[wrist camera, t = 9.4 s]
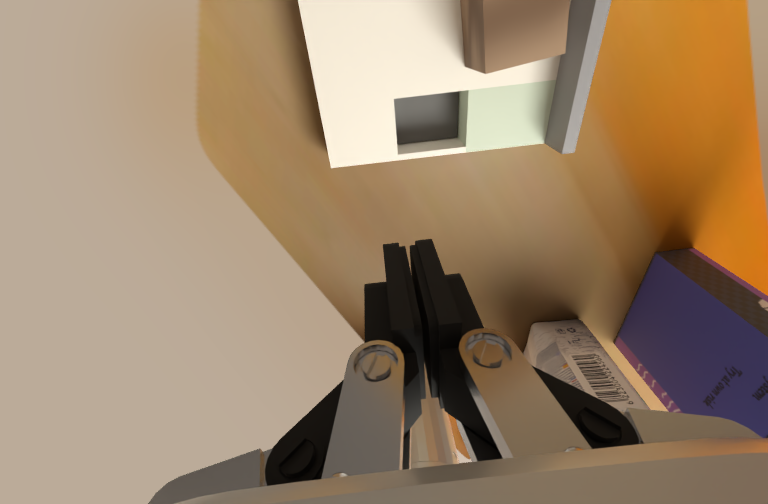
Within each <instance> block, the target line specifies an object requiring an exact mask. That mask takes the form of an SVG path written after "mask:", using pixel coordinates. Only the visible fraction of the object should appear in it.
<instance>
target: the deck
mask: <svg viewBox="0 0 768 504" xmlns="http://www.w3.org/2000/svg"><path fill="white" fill-rule="evenodd" d="M298 4H299V9H300V14H301V19H302V24H303V29H304V34H305V39H306V44H307V49H308V54H309V59H310V64H311V69H312V74H313V79H314V84H315V89H316V94H317V99H318V104H319V109H320V115H321V120H322V125H323V130H324V135H325V140H326V145H327V150H328V155H329V160H330V165H331V168H336V167H345V166H353V165H362V164H370V163H379V162H387V161H396V160H405V159H413V158H422V157H430V156H439V155H448V154H456V153H465V152H473V151H482V150H491V149H499V148H508V147H516V146H525V145H533V144H542V143H545V144H547V145H548V146H550V147H551V148H553V149H555V150H556V151H558V152H560V153H561V154H566V153H574V152H575V148H576V143H577V139H578V135H579V131H580V127H581V123H582V119H583V115H584V111H585V107H586V102H587V98H588V94H589V90H590V86H591V82H592V78H593V74H594V70H595V65H596V61H597V57H598V53H599V49H600V45H601V41H602V37H603V33H604V29H605V24H606V20H607V16H608V12H609V8H610V4H611V0H570V5H569V16H568V28H567V40H566V51H565V54H561V55H558V56H554V57H550V58H546V59H542V60H538V61H534V62H531V63H527V64H523V65H519V66H515V67H511V68H507V69H503V70H500V71H496V72H492V73H488V74H484V73H481V72H478V71H475V70H473V69H470V68H467V67H465V63H464V49H463V34H462V20H461V5H460V0H298ZM458 97H459V105H458ZM457 128H458V135H457ZM455 137H456V138H455ZM447 138H448V139H447ZM438 139H439V140H438ZM429 140H430V141H429ZM421 141H422V142H421ZM412 142H413V143H412ZM404 143H405V144H404Z"/></svg>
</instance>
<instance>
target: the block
mask: <svg viewBox="0 0 768 504" xmlns="http://www.w3.org/2000/svg"><path fill="white" fill-rule="evenodd" d="M460 5H461V20H462V34H463V49H464V63H465V67H467V68H470V69H473V70H475V71H478V72H481V73H484V74H488V73H492V72H496V71H500V70H503V69H507V68H511V67H515V66H519V65H523V64H527V63H531V62H534V61H538V60H542V59H546V58H550V57H554V56H558V55H561V54H565V51H566V40H567V28H568V16H569V5H570V0H460Z"/></svg>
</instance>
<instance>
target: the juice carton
mask: <svg viewBox="0 0 768 504" xmlns="http://www.w3.org/2000/svg"><path fill="white" fill-rule="evenodd" d="M523 355H524V356H525V358H526V359H527V360H528V362H529V363H530V364H531V365H532V366H534V367H536V368H538V369H540V370H542V371H544V372H546V373H548V374H550V375H552V376H554V377H556V378H558V379H560V380H562V381H564V382H566V383H568V384H570V385H572V386H574V387H576V388H578V389H580V390H582V391H584V392H586V393H588V394H590V395H592V396H594V397H596V398H598V399H600V400H602V401H604V402H606V403H608V404H609V405H611V406H613V407H614V408H616V409H617V410H619V411H623V412H625V411H626V409H627V408H637V409H646V410H650V408H649V407H648V406H647V405H646V403H645V402H644V401H643V399H642V398H641V397H640V395H639V394H638V393H637V391H636V390H635V389H634V388H633V386H632V385H631V384H630V382H629V381H628V380H627V378H626V377H625V376H624V374H623V373H622V372H621V371H620V369H619V368H618V367H617V365H616V364H615V363H614V361H613V360H612V359H611V357H610V356H609V355H608V354H607V352H606V351H605V350H604V348H603V347H602V346H601V344H600V343H599V342H598V341H597V339H596V338H595V337H594V335H593V334H592V333H591V332H590V330H589V329H588V328H587V326H586V325H585V324H584V323H583V322H582V321H581V320H579V319H572V320H563V321H552V322H538V323H534V324H532V326H531V329H530V333H529V337H528V342H527V345H526V348H525V350H524V353H523Z"/></svg>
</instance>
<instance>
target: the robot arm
mask: <svg viewBox="0 0 768 504" xmlns="http://www.w3.org/2000/svg"><path fill="white" fill-rule="evenodd" d="M383 251H384V261H385V271H386V281H387V282H380V283H371V284H365V287H364V294H365V343H364V344H362V345H360V346H359V347H358V348H356V349H355V350H354V351H353V353H352V354H351V355H350V358H349V360H348V364H347V368H346V372H345V377H344V380H343V381H342V382H341V383H340V384H339V385H337V386H336V387H335V388H334V389H333V390H332V391H331V392H330V393H329V394H328V395H327V396H326V397H325V398H324V399H323V400H322V401H321V402H319V403H318V404H317V405H316V406H315V407H314V408H313V409H312V410H311V411H310V412H309V413H308V414H307V415H306V416H304V417H303V418H302V419H301V420H300V421H299V422H298V423H297V424H296V425H295V426H294V427H293V428H292V429H291V430H289V431H288V432H287V433H286V434H285V435H284V436H283V437H282V438H281V439H280V440H279V441H278V443H277V444H276V445H275V446H274V447H273V448H272V449H270V450H267V451H264V452H262V450H261V449H257V450H254V451H251V452H248V453H246V454H243V455H240V456H237V457H235V458H232V459H229V460H226V461H223V462H220V463H217V464H214V465H212V466H209V467H206V468H203V469H200V470H197V471H194V472H191V473H189V474H186V475H183V476H180V477H178V478H176V479H174V480H172V481H170V482H168V483H167V484H166V485H165V486H163V487H162V488H161V489H160V490H159V491H158V492H157V493H156V494H155V495H154V497H153V498H152V499H151V501H150V502H149V503H148V504H768V438H762V437H761V436H759V435H758V434H756V433H755V432H753V431H752V430H751V429H749V428H748V427H745V426H743V425H741V424H739V423H737V422H735V421H733V420H729V419H724V418H720V417H713V416H704V415H694V414H685V413H675V412H666V411H656V410H646V409H637V408H627V409H626V411H625V412H623V411H619V410H617V409H616V408H614V407H613V406H611V405H609V404H608V403H606V402H604V401H602V400H600V399H598V398H596V397H594V396H592V395H590V394H588V393H586V392H584V391H582V390H580V389H578V388H576V387H574V386H572V385H570V384H568V383H566V382H564V381H562V380H560V379H558V378H556V377H554V376H552V375H550V374H548V373H546V372H544V371H542V370H540V369H538V368H536V367H534V366H532V365H531V364H530V363H529V362H528V360H527V359H526V358H525V356H524V355H523V353H522V352H521V351H520V349H519V348H518V347H517V345H516V344H515V343H514V342H513V341H512V339H511V338H510V337H508V336H507V335H505V334H503V333H502V332H499V331H496V330H494V329H487V328H484V327H483V325H482V322H481V320H480V318H479V315H478V313H477V311H476V309H475V306H474V304H473V302H472V299H471V297H470V295H469V292H468V290H467V288H466V286H465V283H464V281H463V279H462V277H461V275H460V274H459V273H458V274H449V275H445V274H444V271H443V269H442V266H441V263H440V261H439V258H438V255H437V252H436V250H435V247H434V244H433V241H432V239H426V240H418V241H415V245H411V246H410V259H411V271H410V267H409V262H408V257H407V253H406V248H405V246H402V247H399V243H392V244H383ZM411 274H412V276H411ZM448 414H450V415H451V416H453V417H454V418H455V419H456V421H457V425H458V429H459V431H460V433H461V436H462V438H463V441H464V443H465V446H466V448H467V451H468V453H469V455H470V458H471V460H472V462H468V463H459V460H458V455H457V451H456V446H455V442H454V438H453V433H452V429H451V424H450V420H449V416H448Z"/></svg>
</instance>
